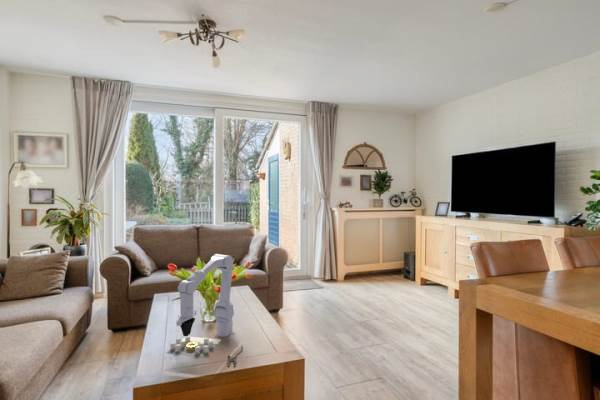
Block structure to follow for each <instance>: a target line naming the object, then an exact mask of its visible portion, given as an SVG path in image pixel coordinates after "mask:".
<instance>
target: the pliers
mask: <svg viewBox="0 0 600 400" xmlns="http://www.w3.org/2000/svg"><path fill="white" fill-rule="evenodd" d="M240 347H241V350H240V351H238V353H236V354H234V356H233V357H231V355H228V356H227V362H226V366H227V368H230V365H231V363H232V364H233V367H234V368H235V367H236V365H237V357H238V356H239V355H240V354H241V353H242V352H243V350H244V348H243V347H244V346H242V345H240Z"/></svg>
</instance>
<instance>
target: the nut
mask: <svg viewBox="0 0 600 400" xmlns="http://www.w3.org/2000/svg"><path fill="white" fill-rule="evenodd" d="M196 346H198V344H197V342H191V343H188V344H187V351H194V350H195V347H196Z"/></svg>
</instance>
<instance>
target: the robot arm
mask: <svg viewBox="0 0 600 400" xmlns="http://www.w3.org/2000/svg"><path fill="white" fill-rule="evenodd" d="M233 266H234V258H233V257H232V255H229V254H228V255H226V254H220V253H215V254H213V255H212V256H211V257H210V260H209V261H208V262H207V263H206V264H205V265H204V266H203V268H201V269H197V270H195V271H194V273H192V274H191V275H190V276H189V277H187V278H186V279H184V280H181V281H180V282H179V284H178V286H177V291H178V293H179V296H180V298H179V299H180V301H179V302H180V305H179V306H180V310H179V311H180V312H179V313H180V314H178V316H177V317H178V319H177V320H176V321H175V322H176V326H179V327H180V329H181V331H182V335H183V337H185V336H190V335H191V332H192V328H193V324H194V323H195V321H196V318H195V317H194V316H196V315H197V309H196V310H194V293H195V292H196V290H197V288H198V286H199V285H200V284H201V283H202V282H203V281H205V279H206V276H207V275H208V274H209V273H210V272H211V271H213V270H214V269H216V268H218V269H219V270H220V271H221V278H220V280H221V282H220V287H219V289H220V290H219V299H218V301H217V302H216V303H215V304H214V309H213V316H214V317H215V320H216V336H218V337H228V336H230V335H231V334H234V332H235V331H234V330H233V322H234V321H233V317H234V313H235V311H234V304H233V302H231V299H230V298H231V290H232V289H231V288H232V279H233V268H234V267H233Z"/></svg>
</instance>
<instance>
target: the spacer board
mask: <svg viewBox="0 0 600 400" xmlns="http://www.w3.org/2000/svg"><path fill="white" fill-rule="evenodd" d="M221 341H222V339H220V338H210V337H198V336H190V335H188V336H183V338H182V337H177V338H176V339H175V342H174V341H172V342H170V344H169V345H170V346H169V347H170V348H169V349H168V351H166V354H175V355H185V356H192V357H203V358H204V357H205V358H206V357H207V356H208V355H209V354H210V353H211V352H212V351H213V350H214V349H215V347H216V346H217V345H218V344H219V343H220V342H221ZM191 342H197V344H198V346H196V347H195V350H194V351H187V344H188V343H191Z"/></svg>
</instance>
